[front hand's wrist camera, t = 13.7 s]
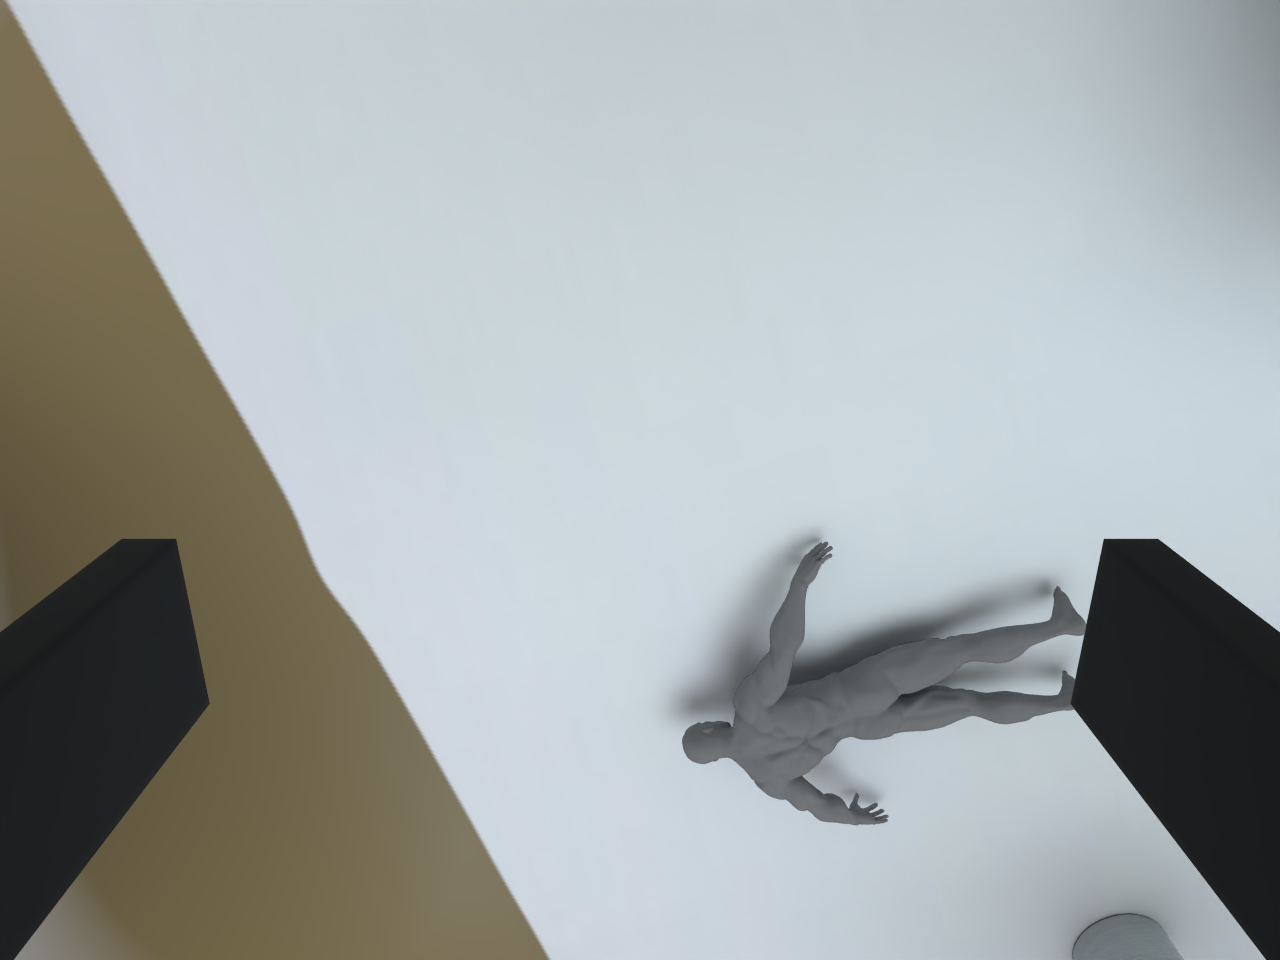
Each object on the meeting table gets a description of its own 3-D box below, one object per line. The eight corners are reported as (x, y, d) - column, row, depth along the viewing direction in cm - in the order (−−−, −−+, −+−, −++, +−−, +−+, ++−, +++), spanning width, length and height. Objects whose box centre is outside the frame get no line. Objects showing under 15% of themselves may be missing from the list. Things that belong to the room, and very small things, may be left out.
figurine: (1038, 480, 43) (638, 586, 44) (1085, 513, 39) (643, 629, 40) (1070, 757, 49) (716, 846, 49) (1113, 810, 45) (727, 907, 45)
